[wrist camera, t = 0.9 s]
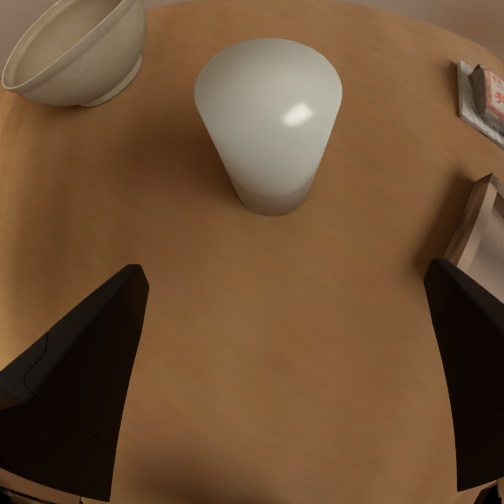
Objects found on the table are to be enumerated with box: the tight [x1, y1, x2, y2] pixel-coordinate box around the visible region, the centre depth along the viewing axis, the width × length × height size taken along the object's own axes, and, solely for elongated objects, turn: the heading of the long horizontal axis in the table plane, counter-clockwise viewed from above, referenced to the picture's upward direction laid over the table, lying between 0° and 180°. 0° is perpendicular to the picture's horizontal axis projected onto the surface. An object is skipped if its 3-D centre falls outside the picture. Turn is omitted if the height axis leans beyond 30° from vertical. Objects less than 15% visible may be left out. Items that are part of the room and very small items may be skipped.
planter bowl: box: [2, 0, 146, 107], centre depth 19 cm, size 16×16×11 cm
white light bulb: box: [194, 38, 342, 216], centre depth 16 cm, size 6×6×12 cm
